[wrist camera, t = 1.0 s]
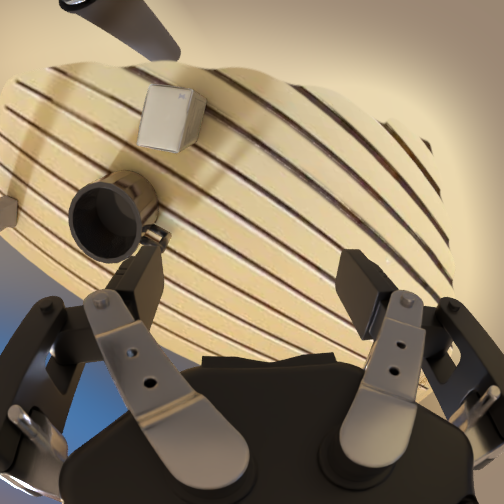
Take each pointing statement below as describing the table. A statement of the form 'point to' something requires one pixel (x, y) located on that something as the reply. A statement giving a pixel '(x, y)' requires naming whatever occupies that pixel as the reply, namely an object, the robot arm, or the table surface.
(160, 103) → the cosmetic box
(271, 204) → the table surface
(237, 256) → the table surface
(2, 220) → the vintage mobile phone
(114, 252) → the mug
